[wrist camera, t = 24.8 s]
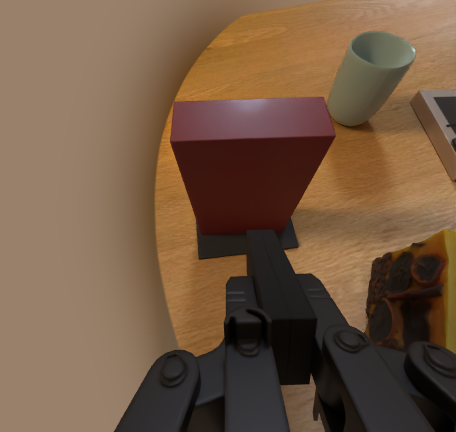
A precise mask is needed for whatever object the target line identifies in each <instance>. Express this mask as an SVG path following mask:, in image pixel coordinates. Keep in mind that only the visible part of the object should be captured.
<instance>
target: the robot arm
mask: <svg viewBox="0 0 456 432" xmlns="http://www.w3.org/2000/svg"><path fill="white" fill-rule="evenodd" d="M224 336H225V337H224V339H223V341H222V343H221V344H220V345H219V346H218V347H217V348H215V349H214V350H213V351H211V352H208V353H206V354H203V355H200V356H198V357H195V356H194V355H193V354H192V353H190V352H188V351H186V350H174V351H171V352H167V353H165V354H164V355H162V356H161V357H159V358H158V359H157V360H156V361H155V363H154V364H153V365H152V366H151V368H150V370H149V371H148V373H147V375H146V377H145V378H144V380H143V382H142V383H141V386H140V387H139V389H138V391H137V392H136V394H135V396H134V397H133V399H132V401H131V403H130V405H129V406H128V408H127V410H126V411H125V413H124V415H123V417H122V418H121V420H120V422H119V424H118V425H117V427H116V429H115V431H114V432H290V429H289V424H288V419H287V415H286V410H285V406H284V401H283V396H282V392H281V387H280V385H304V384H310V376H311V374H312V377H313V380H314V382H315V385H316V392H315V399H314V406H313V418H314V421H318V414H320V417H321V420H322V423H323V426H324V429H325V432H456V354H455V353H453V352H451V351H450V350H448V349H446V348H444V347H442V346H439V345H437V344H434V343H430V342H425V341H419V342H414V343H412V344H410V345H409V348H408V351H407V352H403V351H398V350H394V349H390V348H385V347H382V346H378V345H375V344H373V342H372V341H371V340H370V339H369V338H368V337H367V336H366V335H365V334H364V333H363V332H361V331H360V330H358V329H356V328H354V327H351V326H349V324H348V323H347V321H346V319H345V318H344V316H343V315H342V313H341V312H340V310H339V309H338V307H337V306H336V304H335V302H334V301H333V299H332V298H331V297H330V295H329V293H328V292H327V291H326V288H325V287H324V285H323V284H322V282H321V281H320V280H319V279H318V278H316V277H315V276H314V275H312V274H311V273H310V274H295V272H294V270H293V268H292V266H291V264H290V262H289V260H288V258H287V256H286V254H285V252H284V250H283V248H282V246H281V244H280V242H279V240H278V238H277V236H276V234H275V232H274V230H273V229H269V230H247V276H241V277H230V279H229V280H228V282H227V283H226V317H225V321H224Z"/></svg>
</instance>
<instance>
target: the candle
mask: <svg viewBox="0 0 456 432" xmlns="http://www.w3.org/2000/svg"><path fill="white" fill-rule="evenodd" d="M369 283H370V284H369V290H368V298H367V309H366V313H367V314H368V317H369V321H368V324H367V327H366V331H365V333H364V334H365V335H366V336H367V337H368V338H369V339H370V340H371V341H372V342H373V344H375V345H378V346H382V347H385V348H390V349H394V350H398V351H403V352H407V351H408V348H409V345H410V344H412V343H414V342H419V341H425V342H430V343H434V344H437V345H439V346H442V347H444V348H446V349H448V350H450V351H451V352H453V353H455V354H456V232H455V231H452V230H449V229H447V230H442V231H440V232H439V233H437V234H435V235H433V236H432V237H430V238H428V239H426V240H425V241H422V242H419V243H413V244H412V245H411V246H409V247H407V248H405V249H402V250H399V251H395V252H389V253H386V254H385V255H383V256H382V258H381V257H379V258H376V259H375V260H374V261H373V264H372V272H371V280H370V282H369Z"/></svg>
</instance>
